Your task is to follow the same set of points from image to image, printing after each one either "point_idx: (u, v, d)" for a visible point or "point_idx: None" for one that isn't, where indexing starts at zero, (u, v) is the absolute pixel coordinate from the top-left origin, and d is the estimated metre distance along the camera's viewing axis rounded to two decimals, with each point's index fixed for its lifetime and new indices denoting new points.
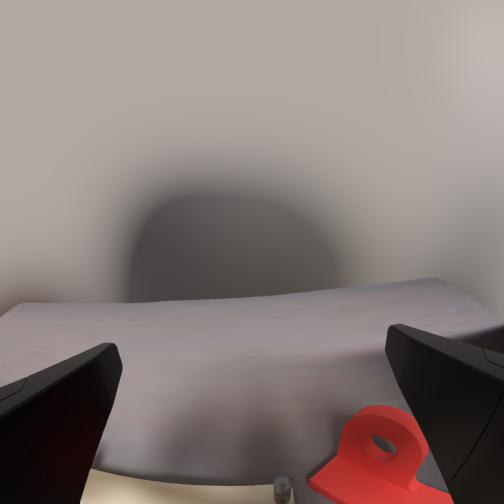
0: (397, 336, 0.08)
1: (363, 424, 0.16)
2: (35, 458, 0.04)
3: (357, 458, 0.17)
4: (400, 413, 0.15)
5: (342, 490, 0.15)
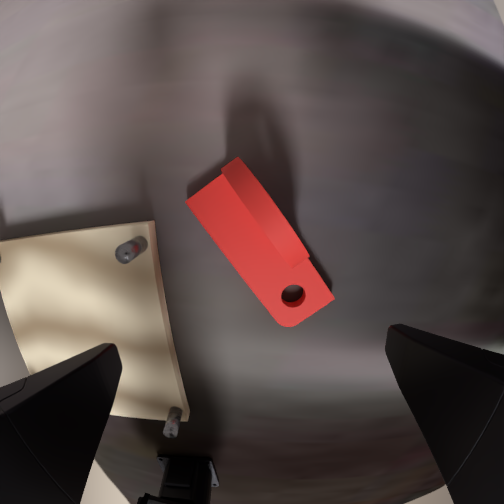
0: (397, 337, 0.08)
1: None
2: (35, 458, 0.04)
3: None
4: (278, 220, 0.13)
5: (217, 227, 0.20)
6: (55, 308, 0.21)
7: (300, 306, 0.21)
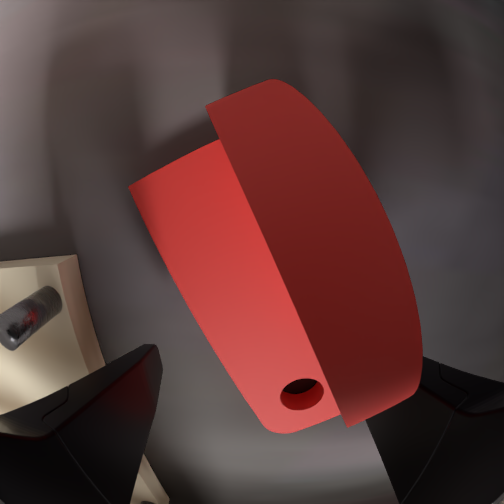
0: None
1: None
2: (86, 476, 0.04)
3: None
4: (396, 343, 0.03)
5: (183, 251, 0.09)
6: None
7: (309, 410, 0.11)
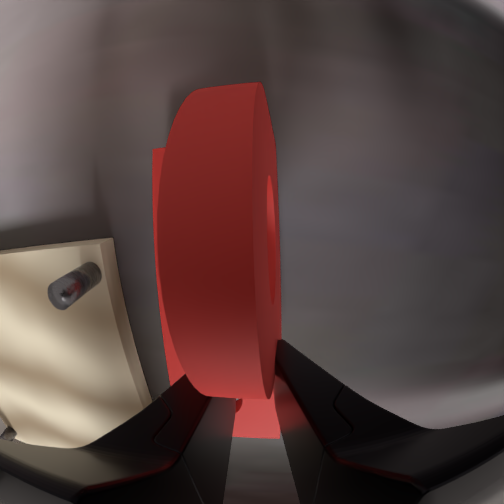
0: None
1: None
2: (200, 495, 0.04)
3: None
4: (225, 279, 0.03)
5: None
6: (6, 346, 0.14)
7: None
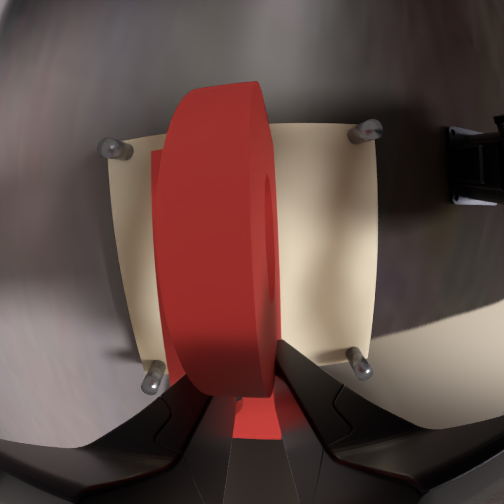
0: None
1: None
2: (200, 495, 0.04)
3: None
4: (224, 274, 0.03)
5: None
6: None
7: None
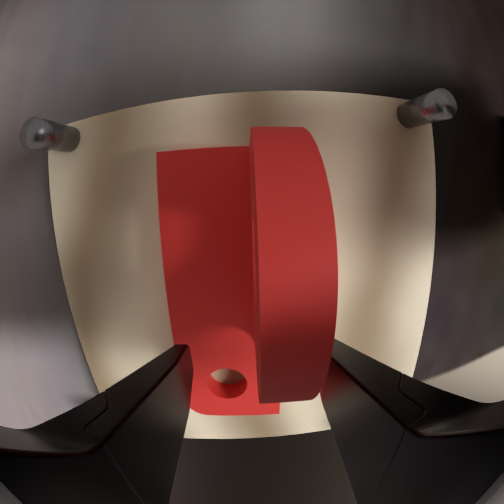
0: None
1: (254, 191, 0.05)
2: (131, 486, 0.04)
3: None
4: (314, 340, 0.04)
5: (178, 223, 0.11)
6: None
7: (227, 400, 0.12)
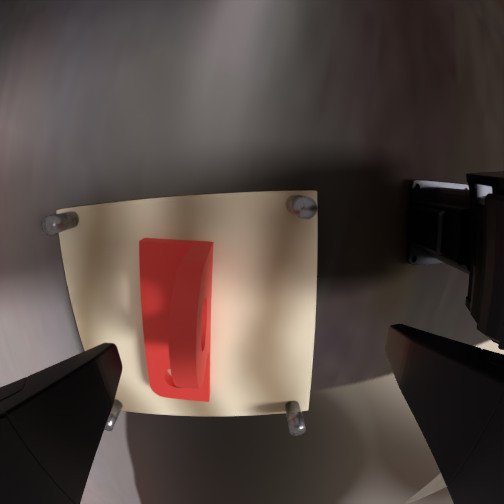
0: (397, 336, 0.08)
1: None
2: (35, 458, 0.04)
3: None
4: (188, 364, 0.11)
5: (151, 284, 0.18)
6: None
7: (176, 388, 0.20)
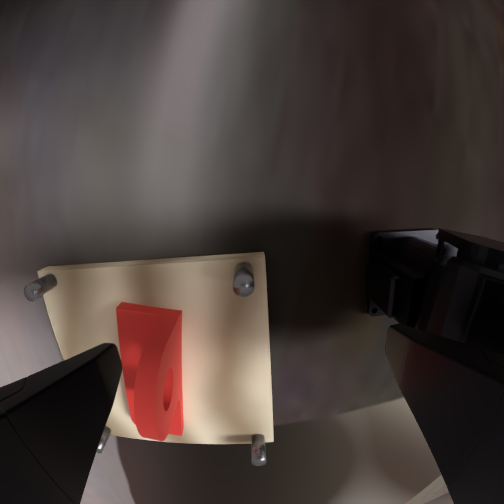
0: (397, 336, 0.08)
1: None
2: (35, 458, 0.04)
3: None
4: (150, 429, 0.13)
5: (128, 343, 0.19)
6: None
7: None
